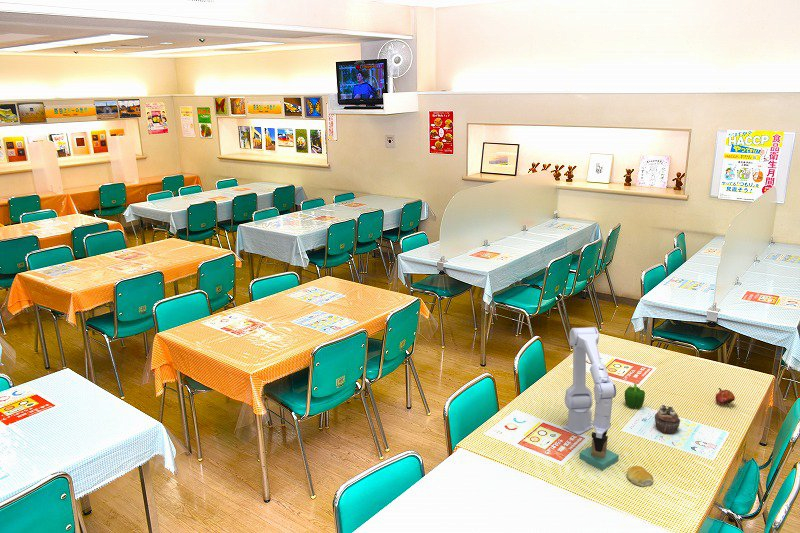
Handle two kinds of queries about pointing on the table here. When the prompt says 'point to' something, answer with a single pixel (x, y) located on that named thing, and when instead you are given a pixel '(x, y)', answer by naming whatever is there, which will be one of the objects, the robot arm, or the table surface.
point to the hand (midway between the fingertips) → (599, 445)
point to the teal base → (599, 458)
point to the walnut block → (599, 454)
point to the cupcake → (667, 420)
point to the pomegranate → (724, 397)
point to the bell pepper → (634, 397)
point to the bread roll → (639, 476)
